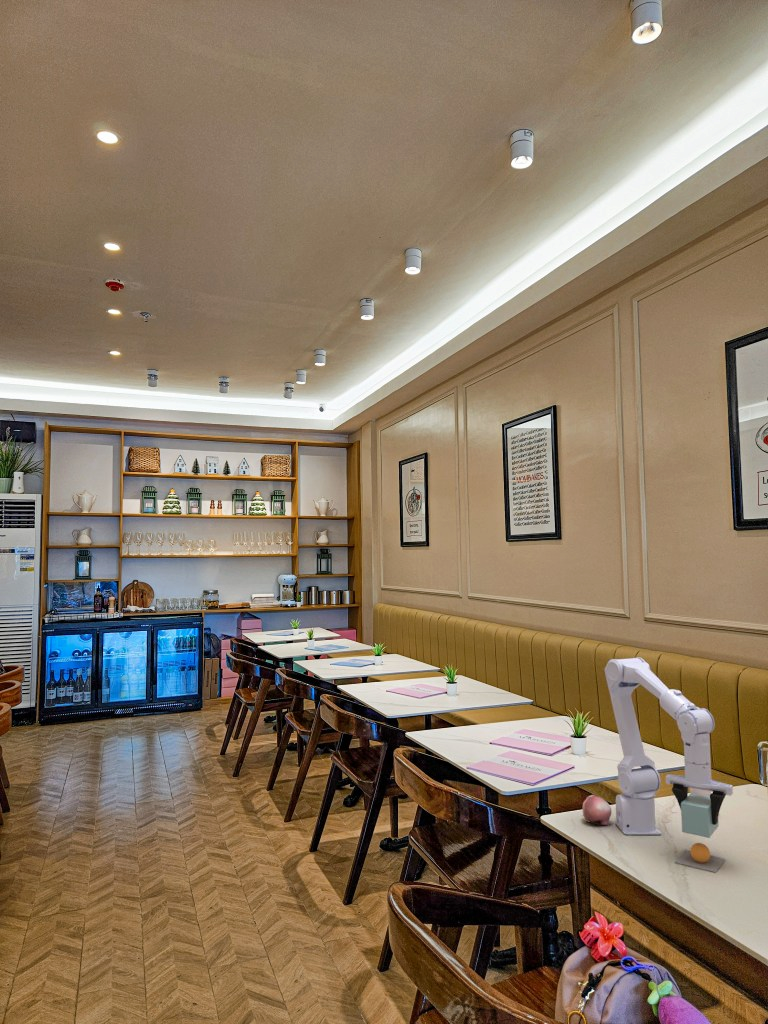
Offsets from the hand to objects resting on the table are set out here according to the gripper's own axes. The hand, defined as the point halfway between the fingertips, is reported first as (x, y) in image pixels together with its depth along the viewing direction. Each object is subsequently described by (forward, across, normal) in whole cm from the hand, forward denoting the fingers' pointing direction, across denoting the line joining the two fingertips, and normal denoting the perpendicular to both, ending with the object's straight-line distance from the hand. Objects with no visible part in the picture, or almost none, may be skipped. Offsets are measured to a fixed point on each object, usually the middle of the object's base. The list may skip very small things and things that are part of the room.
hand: (700, 820), depth 165 cm
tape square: (+9, 0, +1) cm, 9 cm away
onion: (+9, +28, -8) cm, 31 cm away
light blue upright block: (+2, 0, 0) cm, 2 cm away
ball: (+7, 0, +2) cm, 7 cm away
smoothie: (+9, +8, -30) cm, 32 cm away
